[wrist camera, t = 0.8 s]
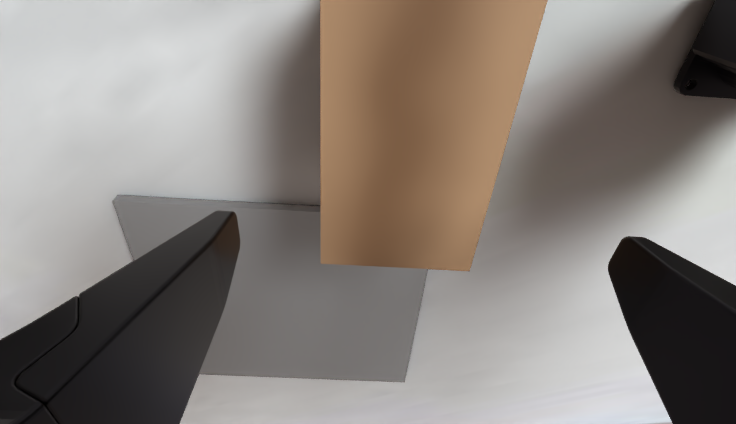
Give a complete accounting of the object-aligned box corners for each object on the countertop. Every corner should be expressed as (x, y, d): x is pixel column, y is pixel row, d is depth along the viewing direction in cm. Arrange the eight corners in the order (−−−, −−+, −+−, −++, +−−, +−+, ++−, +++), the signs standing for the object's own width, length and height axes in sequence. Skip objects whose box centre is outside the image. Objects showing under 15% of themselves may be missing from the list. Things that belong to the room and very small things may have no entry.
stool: (485, -30, 16) (550, -11, 10) (442, 182, 22) (469, 271, 16) (337, -42, 16) (320, -29, 10) (333, 176, 22) (320, 263, 16)
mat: (437, 212, 23) (438, 218, 22) (404, 375, 32) (404, 382, 32) (118, 195, 22) (112, 200, 22) (176, 366, 31) (173, 373, 31)
